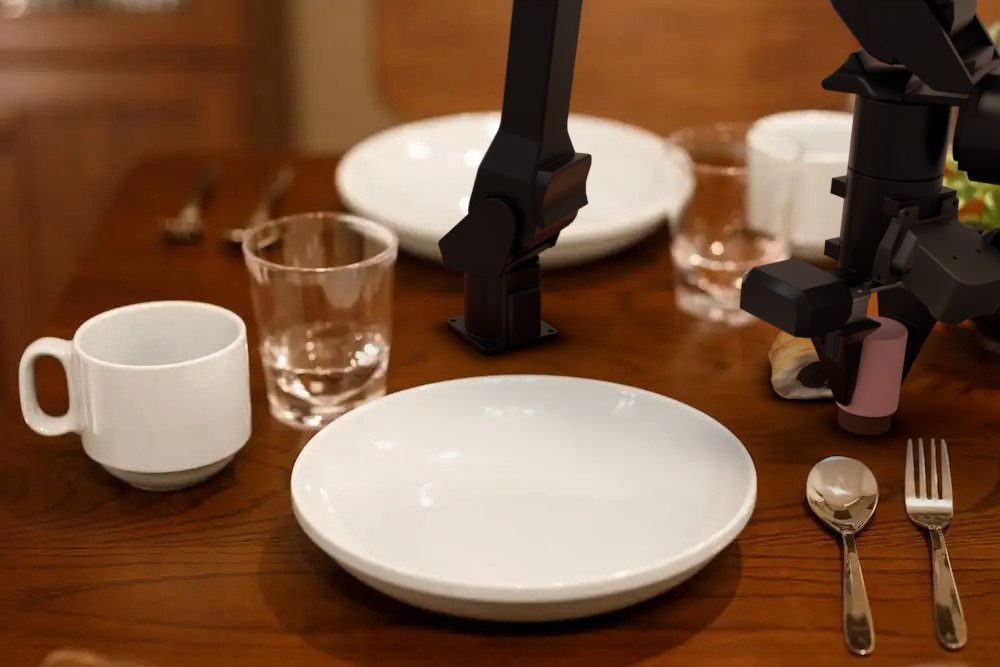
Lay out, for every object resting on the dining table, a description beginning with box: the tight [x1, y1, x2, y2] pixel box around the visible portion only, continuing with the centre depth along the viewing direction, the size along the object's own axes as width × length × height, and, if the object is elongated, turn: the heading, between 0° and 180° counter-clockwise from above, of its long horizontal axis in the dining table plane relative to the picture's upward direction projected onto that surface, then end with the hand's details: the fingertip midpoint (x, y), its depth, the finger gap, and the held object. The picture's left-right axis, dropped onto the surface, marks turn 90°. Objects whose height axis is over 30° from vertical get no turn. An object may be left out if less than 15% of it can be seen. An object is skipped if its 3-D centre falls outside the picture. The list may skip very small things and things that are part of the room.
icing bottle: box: [835, 315, 908, 436], centre depth 86 cm, size 4×4×7 cm
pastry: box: [767, 330, 834, 401], centre depth 93 cm, size 9×7×4 cm
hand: (866, 396), depth 86 cm, fingers closed on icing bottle, 4 cm apart
